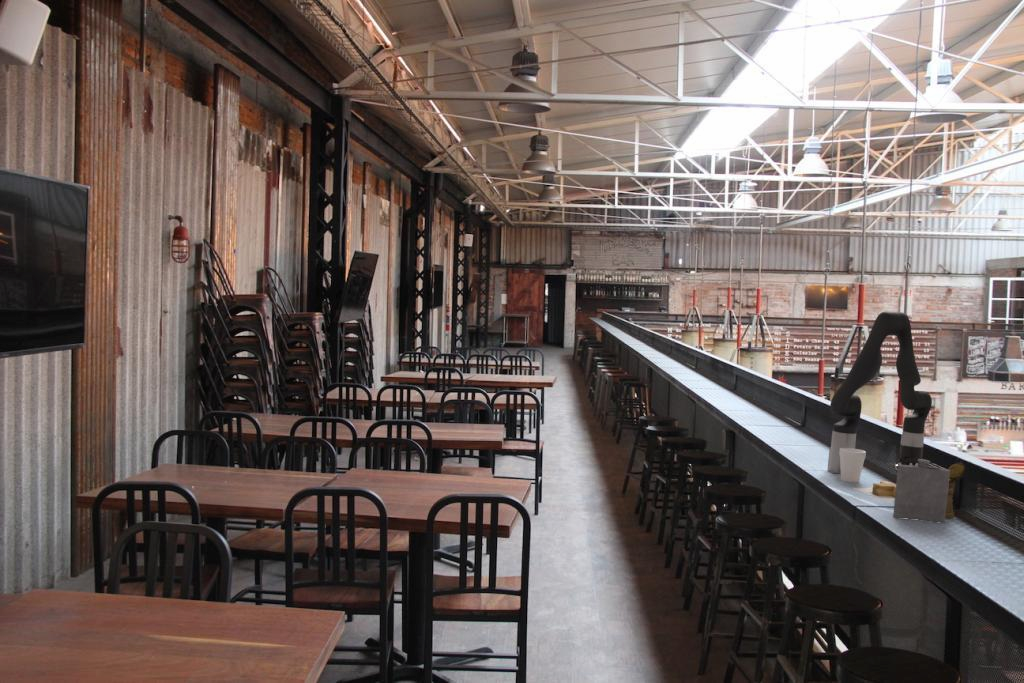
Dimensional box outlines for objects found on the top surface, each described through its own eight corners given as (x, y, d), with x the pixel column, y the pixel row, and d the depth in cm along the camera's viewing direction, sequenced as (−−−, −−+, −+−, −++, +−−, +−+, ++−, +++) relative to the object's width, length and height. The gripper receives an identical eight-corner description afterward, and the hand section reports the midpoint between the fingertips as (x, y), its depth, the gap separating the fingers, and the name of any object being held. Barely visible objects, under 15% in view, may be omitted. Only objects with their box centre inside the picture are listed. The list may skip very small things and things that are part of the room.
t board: (850, 490, 300) (851, 487, 300) (890, 490, 305) (890, 487, 304) (884, 503, 282) (885, 500, 282) (926, 503, 287) (926, 500, 287)
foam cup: (862, 482, 316) (866, 450, 315) (862, 486, 308) (865, 453, 307) (837, 478, 320) (840, 446, 319) (836, 482, 311) (839, 450, 311)
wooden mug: (968, 517, 271) (974, 465, 270) (941, 519, 265) (946, 466, 264) (945, 510, 279) (950, 459, 278) (918, 511, 274) (923, 460, 272)
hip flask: (894, 518, 263) (900, 458, 261) (891, 514, 267) (896, 456, 265) (946, 523, 260) (952, 463, 259) (941, 520, 264) (948, 461, 263)
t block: (866, 490, 297) (867, 481, 297) (886, 490, 299) (887, 481, 299) (885, 497, 287) (886, 488, 287) (906, 497, 290) (907, 488, 289)
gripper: (919, 442, 300) (914, 487, 301) (889, 441, 297) (885, 487, 298) (934, 446, 293) (929, 492, 294) (904, 445, 289) (899, 492, 290)
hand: (907, 490), depth 296 cm, fingers closed
